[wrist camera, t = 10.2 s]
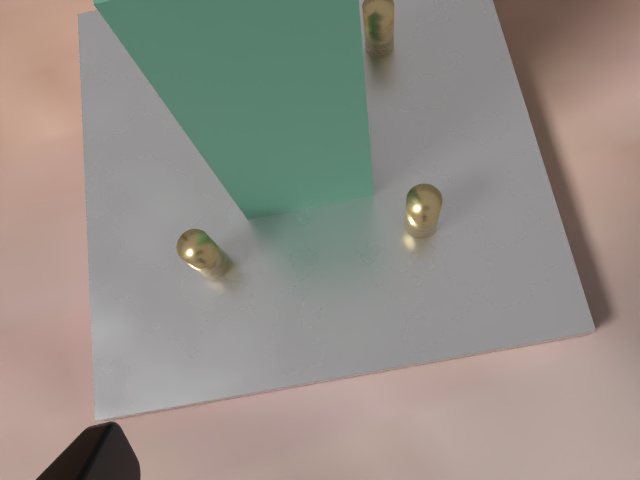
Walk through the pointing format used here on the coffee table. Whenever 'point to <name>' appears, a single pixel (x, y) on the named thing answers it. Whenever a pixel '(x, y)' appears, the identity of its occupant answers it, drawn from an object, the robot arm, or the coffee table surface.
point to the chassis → (324, 229)
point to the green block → (260, 92)
